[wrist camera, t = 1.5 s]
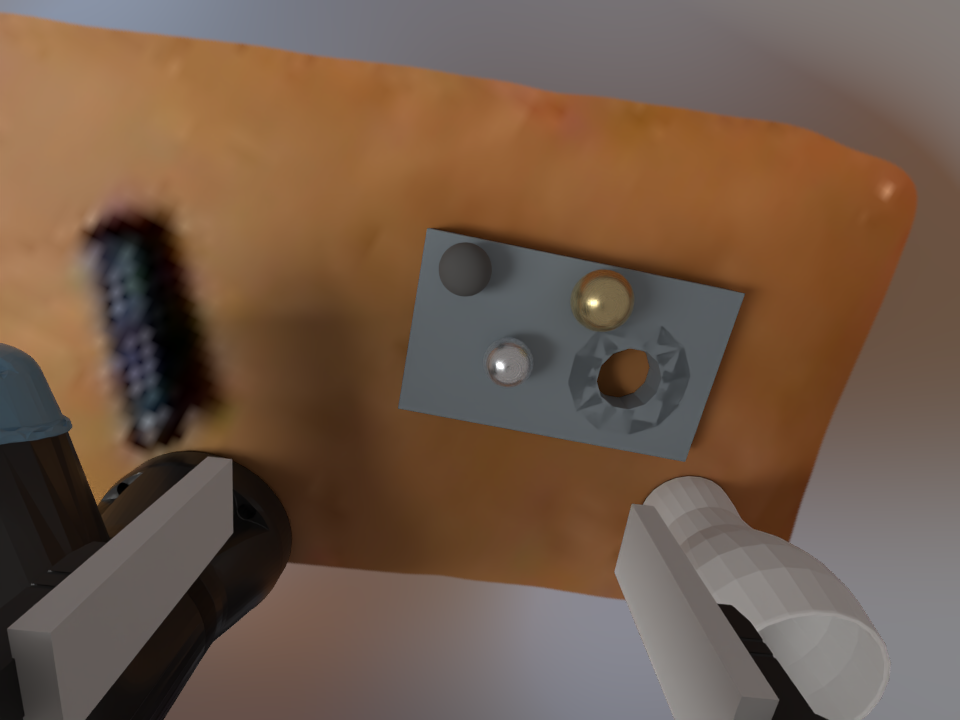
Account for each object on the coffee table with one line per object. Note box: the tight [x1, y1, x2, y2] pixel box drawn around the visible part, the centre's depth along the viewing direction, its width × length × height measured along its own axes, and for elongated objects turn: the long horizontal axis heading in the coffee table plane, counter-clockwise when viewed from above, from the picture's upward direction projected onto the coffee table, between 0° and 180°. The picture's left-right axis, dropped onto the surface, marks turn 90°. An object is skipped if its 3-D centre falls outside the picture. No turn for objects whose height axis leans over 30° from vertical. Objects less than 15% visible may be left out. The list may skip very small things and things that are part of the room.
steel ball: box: [483, 337, 534, 388], centre depth 31 cm, size 3×3×3 cm
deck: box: [398, 228, 745, 462], centre depth 34 cm, size 22×13×2 cm, turn 79°
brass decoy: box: [570, 269, 635, 332], centre depth 30 cm, size 4×4×4 cm
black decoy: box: [439, 242, 492, 297], centre depth 30 cm, size 3×3×3 cm
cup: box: [643, 476, 891, 720], centre depth 32 cm, size 11×11×15 cm
